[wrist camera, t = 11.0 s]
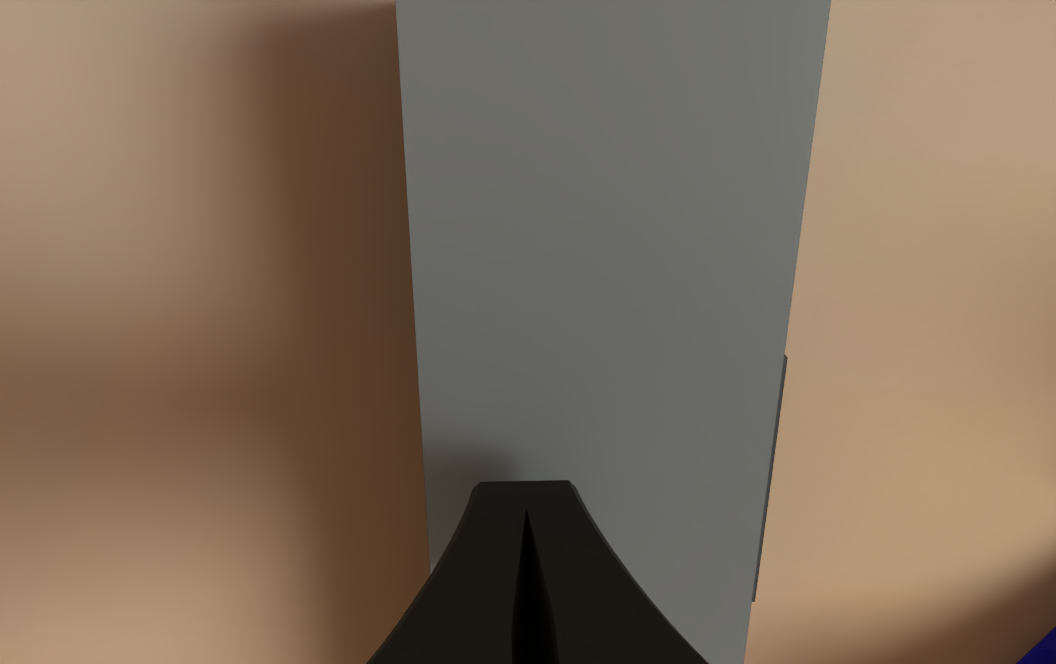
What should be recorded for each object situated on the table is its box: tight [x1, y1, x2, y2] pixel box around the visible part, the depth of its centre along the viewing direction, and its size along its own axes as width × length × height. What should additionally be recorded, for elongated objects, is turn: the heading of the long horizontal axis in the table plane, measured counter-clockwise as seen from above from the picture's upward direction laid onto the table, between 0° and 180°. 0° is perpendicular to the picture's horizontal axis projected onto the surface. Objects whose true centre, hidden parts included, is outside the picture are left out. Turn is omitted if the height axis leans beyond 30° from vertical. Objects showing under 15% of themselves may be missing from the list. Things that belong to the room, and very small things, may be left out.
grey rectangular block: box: [395, 0, 831, 664], centre depth 13 cm, size 16×5×3 cm, turn 0°
